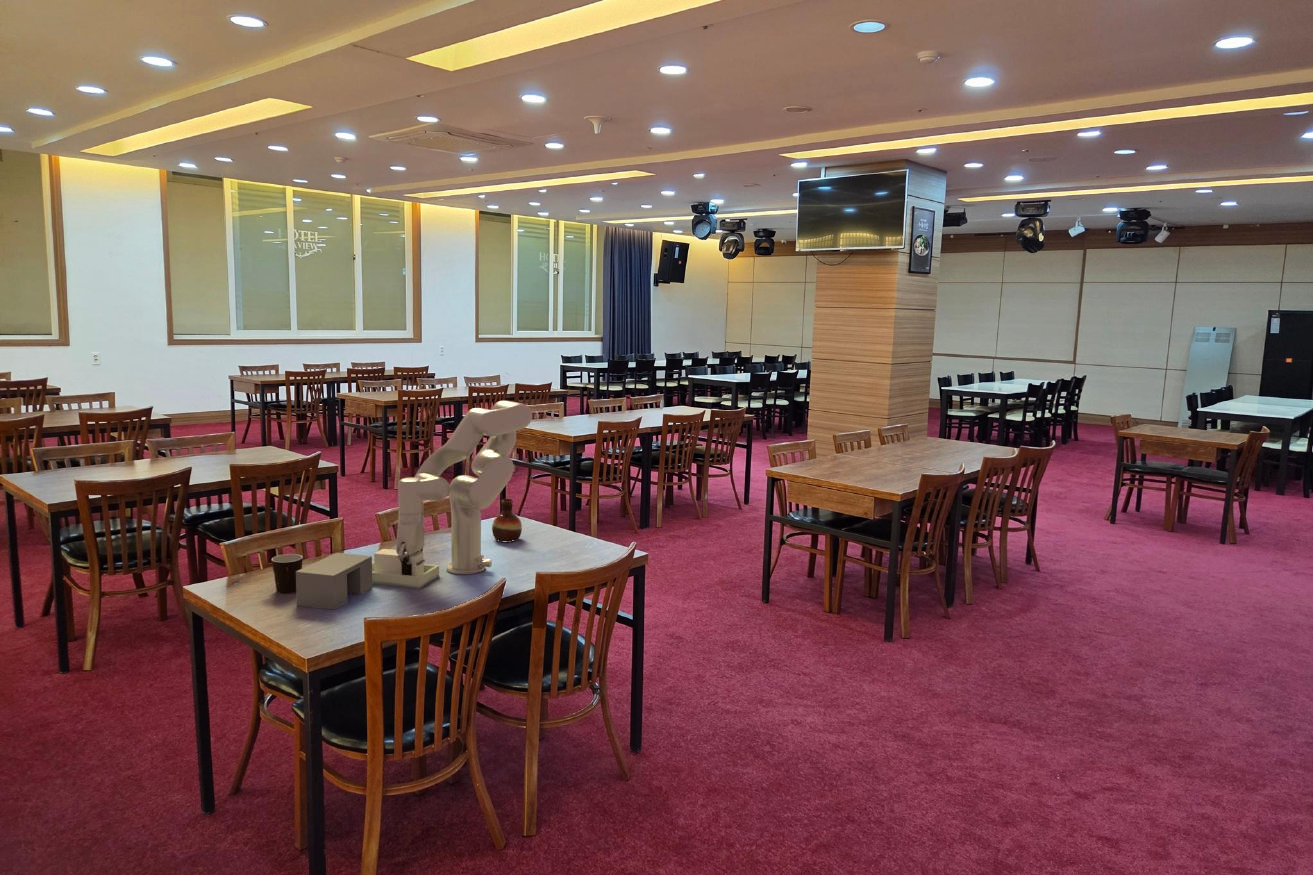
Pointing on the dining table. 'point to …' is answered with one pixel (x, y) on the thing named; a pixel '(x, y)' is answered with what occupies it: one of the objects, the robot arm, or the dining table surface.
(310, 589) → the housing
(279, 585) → the coffee mug
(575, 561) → the dining table surface
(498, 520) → the vase
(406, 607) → the dining table surface
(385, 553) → the tan cardboard box
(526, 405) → the robot arm
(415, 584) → the tray
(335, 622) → the dining table surface
